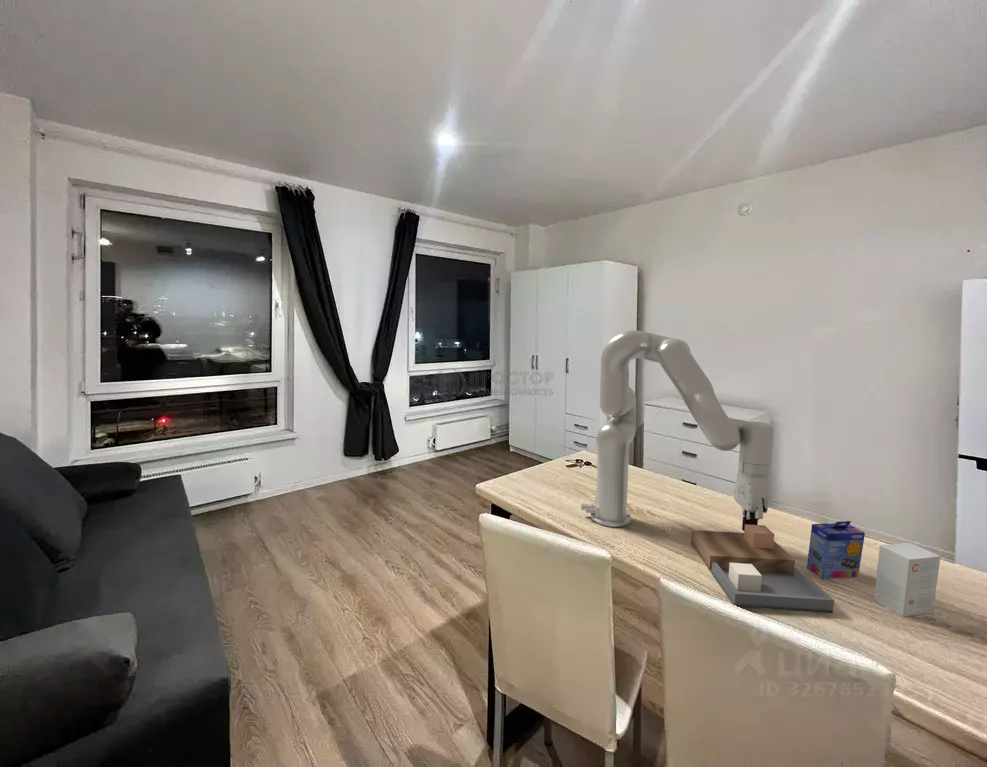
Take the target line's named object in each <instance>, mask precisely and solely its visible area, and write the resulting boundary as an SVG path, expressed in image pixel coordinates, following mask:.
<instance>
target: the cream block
mask: <svg viewBox="0 0 987 767" xmlns="http://www.w3.org/2000/svg"><path fill="white" fill-rule="evenodd" d="M728 578H729V580H730V581H731V582H732V584H733V585H734V586H735V588H736V589H737V590H739V591H753V592H760V591H761V580H762V575H761V574H760V573H759V572H758V571H757V570H756V568H755V567H754V566H753V565H752V564H743V563H730V564H729V577H728Z"/></svg>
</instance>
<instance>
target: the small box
mask: <svg viewBox="0 0 987 767" xmlns="http://www.w3.org/2000/svg"><path fill="white" fill-rule="evenodd" d="M878 551H879V552H878V562H877V568H876V570H877V571H876V580H875V590H874V595H873V596H874V597H873V599H874V601H875V600H876V602H877V601H878V603H879V602H880V603H879V604H881V603H882V604H883V606H884V605H885V606H884V607H886V606H887V607H888V609H889V608H890V609H889V610H891V611H893V612H894V611H895V612H894V613H896V614H898V615H899V614H900V615H899V616H901V617H903V618H904V617H911V616H916V615H924V614H931V613H934V608H935V602H936V600H935V599H936V592H937V586H938V585H937V584H938V578H939V577H938V576H939V570H940V561H941V556H940V555H939V554H937V553H934V552H932V551H931V550H930V551H929V550H928V549H926V548H923V547H920V546H918V545H916V544H914V543H911V542H901V543H894V544H893V543H892V544H883V545H879V550H878ZM882 604H881V605H882ZM887 607H886V608H887Z"/></svg>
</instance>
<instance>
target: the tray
mask: <svg viewBox="0 0 987 767" xmlns="http://www.w3.org/2000/svg"><path fill="white" fill-rule="evenodd" d="M709 572H710V574H711V575H712V577H713V578H714V580H715V581H716V582H717V584H718V585H719V587H720V588H721V589H722V591H723V592H724V593H725V595H726V597H727V598H728V600H730V603H731V604H732V605H733V604H734V605H736V606H739V608H748V609H749V608H751V609H763V610H764V609H766V610H779V611H793V612H794V611H795V612H796V611H798V612H809V613H823V614H833V613H834V606H835V599H834V598H833V597H831V596H830V595H829V594H828V593H827V592H826V591H825V590H824V589H823V588H822V587H821V586H819V585H818V584H817V583H816V581H814V580H813V579H812V578H811V577H810V576H809V575H807V573H805V572H804V571H803V570H802V569H801V567H798V566H795V567H794V574H779V573H763V572H759V573H760V574H761V575H762V580H761V591H760V592H753V591H739V590H737V589H736V588H735V586H734V585H733V584H732V582H731V581H730V580H729V578H728V577H729V570H722V569H721V568H720V566H719V565H718V564H717V563H715V562H712V569H710V570H709ZM734 605H733V606H734Z"/></svg>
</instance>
